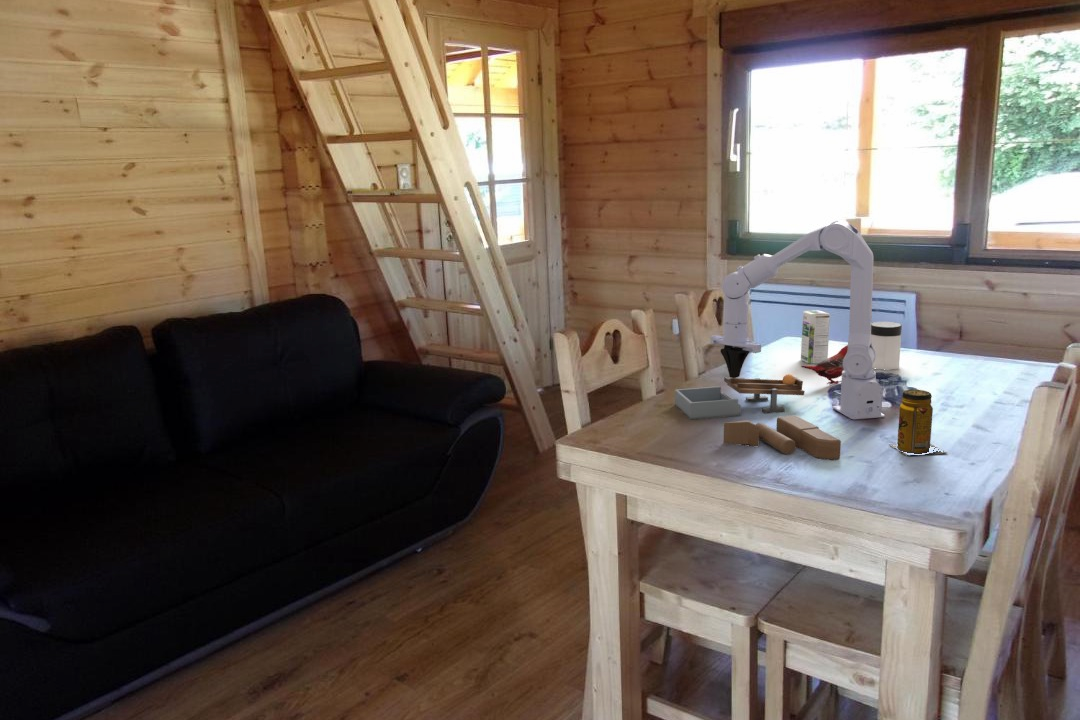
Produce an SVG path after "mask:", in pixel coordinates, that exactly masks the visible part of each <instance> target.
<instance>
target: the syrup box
mask: <svg viewBox="0 0 1080 720" xmlns="http://www.w3.org/2000/svg"><path fill="white" fill-rule="evenodd" d="M830 321H831V313H828V312H825V311H822V310H817V309H813V310H811V309H810V310H804V311H803V312H802V328H801V346H800V347H801V348H800V361H803V362H805V363H807V364H809V365H815V364H816V365H817V364H819V363H821V362H822V361H824V360H826V359H828V358H829V357H828V356H829V353H828V352H829V342H830V341H829V340H830V338H829V337H830Z"/></svg>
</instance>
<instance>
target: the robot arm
mask: <svg viewBox="0 0 1080 720" xmlns="http://www.w3.org/2000/svg"><path fill="white" fill-rule="evenodd" d="M822 250H826V251H827V252H830V253H832V254H834V255H836V256H840V258H842V259H843V260H844V261H845V262H847V263H848V264H849V265H850V284H849V285H850V288H849V289H850V291H849V322H848V323H849V325H848V328H849V329H848V333H849V334H848V340H847V345H848V350H847V354H846V355H845V357H844V359H843V368H844V370H843V371H842V376H841V381H842V382H840V386H841V388H840V405H833V406H832V409H833V410H835V411H837V412H839V413H840V414H843V415H844V416H845V417H847V418H849V419H851V420H866V419H875V418H876V419H878V418H885V416H886V414H884V413H882V411H883V410H882V408H883V394H884V393H883V388H882V386H881V384H880V383H879V382H878V381H877V378H876V375H877V373H876V371H875V370H874V369H873V368H872V366H873V363H874V361H875V358H876V354H875V350H874V349H873V347H872V336H871V323H872V315H873V314H872V313H873V312H872V311H873V286H874V285H873V283H874V261H875V260H874V253H873V251H872V249H871V248H870V246H869V245H868V243H867V241H866V240H865V238H863V236H862V234H861V232H860V230H859V229H858V228H857V227H855V226H854V225H852V224H851V223H849V222H848V221H845V220H835V221H833V222H831V223H830V224H829V225H824V226H823V227H819V228H817V229H814V230H813V231H810V232H808V233H806V234H805V235H803V236H802V237H800V238H798V239H796V240H795V241H794V242H792V243H790V244H789V245H787V246H786V247H784V248H783V249H781V250H779V251H778V252H776V253H775V254H773V255H771V254H767V253H762V255H760V253H759V254H757V255H755V256H754V257H753V260H751V261H750V262H748V263H747V264H745V265H744V266H742V265H739V266H738V267H736V270H737V271H734V272H731V273H728V275H727V276H725V278H724V279H723V280H722V283H721V291H722V293H723V295H724V297H723V298H724V299H723V301H724V302H723V320H722V322H723V325H722V327H723V329H722V331H723V332H722V333H723V334H722V335H717V334H715V335H710V338H709V340H710V341H709V342H710V345H719V346H723V348H721V349H720V353H721V355H722V357H723V359H724V361H725V364H726V368H727V372H728V375H729V377H731V378H740V375H741V371H742V368H743V365H744V363H745V361H746V359H747V357H748V355H749V354H750V353H751V352H752V354H759V353H762V344H761V343H758V342H755V341H752V340H750V338H749V337H748V335H749V334H748V331H749V330H748V327H749V323H748V322H749V302H748V301H749V293H748V292H750V290H751V289H756V288H757V287H758V286H760V285H762V284H764V283H766V282H767V281H769V280H771V279H772V278H774V277H776V276H777V275H778V273H779V271H780V270H779V269H780V267H782V266H783V265H785V264H787V263H789V262H790V261H793V260H794V259H796V258H798V257H799V256H802V255H803V254H805V253H808V252H809V251H813V252H814V251H817V252H819V251H822Z"/></svg>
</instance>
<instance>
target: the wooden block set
mask: <svg viewBox="0 0 1080 720" xmlns="http://www.w3.org/2000/svg"><path fill="white" fill-rule="evenodd" d="M759 440H761V441H762V442H764V443H765V444H767V445H769V446H771V447H772V448H774V449H775V450H777V451H779V452H780V453H782V454H784V455H791V454H793V453H794V452H795V451H796V449H798V450H802V451H804V452H805V451H806V452H805V453H807V454H809V455H811V456H813V457H814V458H816V459H820V458H821V460H827V459H829V460H828V461H834V459H835V460H839V459H840V457H841V446H842V444H841V443H842V441H841V439H839V438H838V437H835V436H833V435H832V434H829V433H828V432H825V431H824V430H822V429H820V428H819V426H817V425H815V424H814V423H811V422H810V421H807V420H805V419H803V418H801V417H800V416H797V415H795V414H794V415H784V416H778V417H776V429H774V428H772V427H771V426H769V425H767V424H766V423H764V422H758V423H756V424H755V423H754V422H752V421H750V420H748V419H747V420H739V421H731V422H730V421H729V422H724V423H723V443H724V444H728V443H731V445H736V444H741V445H740V446H745V445H749V446H748V447H754V446H758V447H759V444H760V443H759Z"/></svg>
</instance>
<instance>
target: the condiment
mask: <svg viewBox="0 0 1080 720" xmlns="http://www.w3.org/2000/svg"><path fill="white" fill-rule="evenodd" d="M932 397H933V396H932V393H931V392H930V391H927V390H923V389H906V390H903V392H902V400H901V402H902V403H900V405H899V411H898V412H899V414H898V429H897V443H894V444H895V445H896V444H898V446H897V448H898V449H899V450H900V452H899V453H901V451H903V452H907V453H914V454H922V453H927V452H929V448H930V446H931V447H935V445H934V444H932V442H931V439H932V437H931V436H932V425H933V424H932V423H933V412H934V411H933V410H934V408H933V405H932ZM888 445H889V446H891V447H892V448H893V449H894V448H895V447H896V446H893V444H890V443H889V444H888ZM935 448H938V447H937V446H936V447H935ZM935 448H934V449H935ZM939 449H940V448H939ZM939 449H938V450H939ZM933 451H934V450H933ZM944 451H945V450H943V453H942V452H941V451H939V452H938V451H936V452H933V453H935V454H933V453H929V455H940V454H947V453H948V451H945V452H944ZM902 454H903V455H905V456H906V457H908V456H907V455H906V454H905V453H902ZM929 455H928V456H929Z"/></svg>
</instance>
